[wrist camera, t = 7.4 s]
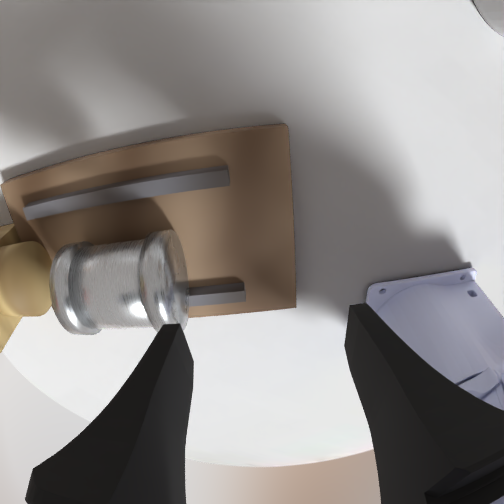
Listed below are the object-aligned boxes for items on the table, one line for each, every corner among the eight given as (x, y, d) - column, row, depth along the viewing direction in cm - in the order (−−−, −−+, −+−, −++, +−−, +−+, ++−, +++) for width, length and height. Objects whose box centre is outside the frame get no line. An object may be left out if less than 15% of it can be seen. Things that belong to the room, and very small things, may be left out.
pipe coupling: (166, 208, 15) (157, 305, 12) (190, 264, 19) (188, 345, 16) (63, 224, 15) (40, 310, 12) (101, 273, 19) (90, 347, 16)
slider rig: (285, 123, 15) (333, 178, 8) (294, 297, 21) (318, 414, 13) (-34, 195, 15) (-112, 261, 8) (21, 315, 21) (-24, 395, 14)
